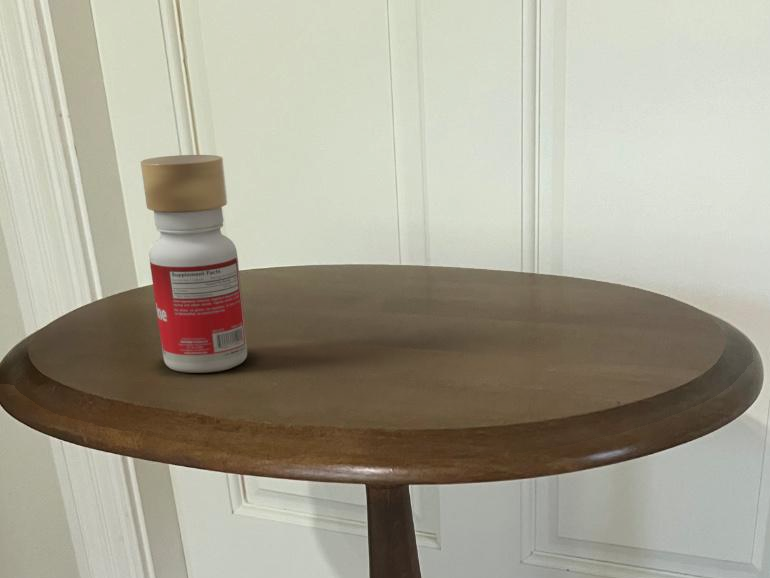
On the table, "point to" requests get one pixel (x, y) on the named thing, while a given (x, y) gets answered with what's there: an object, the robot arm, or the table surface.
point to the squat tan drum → (184, 183)
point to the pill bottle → (197, 292)
